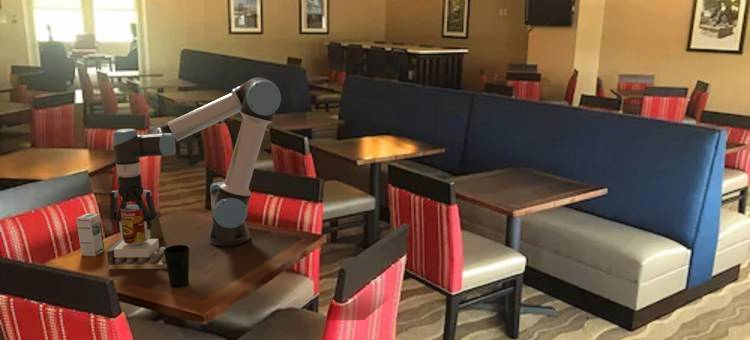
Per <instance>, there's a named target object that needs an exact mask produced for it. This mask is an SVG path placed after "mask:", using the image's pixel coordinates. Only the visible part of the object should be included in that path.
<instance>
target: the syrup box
mask: <svg viewBox="0 0 750 340" xmlns="http://www.w3.org/2000/svg"><path fill="white" fill-rule="evenodd" d="M75 220H76V226H77V232H78V234H77V235H78V238H79V247H80V252H81V256H85V257H96V256H98V255H100V254H102V253H103V252H105V243H104V236H103V235H104V234H103V227H102V221H101V215H100V213H93V212H91V213H85V214H83V215H80V216H78V217H76V218H75Z"/></svg>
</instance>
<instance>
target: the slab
mask: <svg viewBox="0 0 750 340" xmlns="http://www.w3.org/2000/svg"><path fill="white" fill-rule="evenodd" d="M159 241H160V240H159V239H148V240H147V241H145V242H142V243H138V244H127V243H124V240H123V241H122V242H121V243H120V244H119V245H118V246H116V247H115V248H114V249H113V251H114V258H117V257H150V256H151V255H152V254H153V253H154V252H157V249H158V248H159V247H160V242H159Z"/></svg>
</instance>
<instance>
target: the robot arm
mask: <svg viewBox="0 0 750 340" xmlns="http://www.w3.org/2000/svg"><path fill="white" fill-rule="evenodd" d="M281 95H282V94H281V92H280V89H279V87H278V86H277V85H276V83H274V82H273V81H272V80H269V78H265V77H263V76H258V77H253V78H251V79H249V80H248V81H245V82H244V83H242V84H241V85H238V86H236V87H235V88H232V89H231V92H230V93H228V94H226V95H224V96H222V97H220V98H217V99H216V100H213V101H211V102H209V103H207V104H205V105H203V106H200V107H198V108H196V109H194V110H192V111H189V112H188V113H186V114H183V115H181V116H179V117H177V118H174V119H172V120H170V121H167V122H166V123H163V124H162V125H156V126H154V127H152V128H151V129H150V130H149V131H148V133H147V134H139V133H137V129H135V128H121V129H117V130H115V131H114V132H113V134H112V135H113V149H114V157H115V158H114V159H115V165H116V166H115V168H116V174H117V177H116V178H117V185H118V189H117V190H112V191H110V193H109V195H110V200H111V201H110V215H109V217H110V220H111V221H112V220H113V221H116V227H117V230H119V231H120V239H121V240H124V237H123V228H122V219H121V210H120V208H121V209H123V208H125V207H126V205H128V203H129V202H131V203H132V202H133V203H135V204H137V205H138V206H139V208H140V209H141V208H142V211H143V216H144V217H145V219H146V220H145V221H144V228H145V238H146V239H149V238H150V237H151V236H150V229H151V228H152V219H154V218H155V217H156V216H157V214H156V211H155V209H156V208H155V204H154V200H153V190H152V189H149V190H145V189H144V187H143V180H142V175H141V172H142V170H141V160H140V158H143V157H144V158H145V157H160V156H164V157H165V156H172V155H175V154H176V152H177V151H176V150H177V149H176V143H177V142H179V141H180V140H183V139H185V138H187V137H189V136H192V135H193V134H194V135H195V133H198V132H200V131H203V130H204V129H206V128H209V127H211V126H213V125H215V124H217V123H219V122H221V121H225V120H226V119H228V118H230V117H232V116H235V115H236V114H238V113H240V114H241V116H242V120H241V125H240V128H239V132H238V135H237V138H236V142H235V146H234V149H233V152H232V155H231V159H230V162H229V165H228V168H227V172H226V176H225V179H224V180H223V181H217V182H213V183H211V184H210V187H209V189H210V190H209V193H210V201H211V202H210V203H211V204H210V205H211V215H212V216H211V217H212V218H211V219H212V224H211V227H210V231H209V234H208V235H209V236H208V240H209V244H211V245H213V246H217V247H233V246H238V245H242V244H245V243H247V242H248V241H249V240H250V233H249V229H248V227H247V224H246V219H247V216H248V206H249V202H250V199H251V195H252V192H251V190H250V189H249V187H250V184H251V182H252V178H253V177H252V176H253V173H254V170H255V167H256V163H257V160H258V157H259V154H260V149H261V146H262V143H263V140H264V136H265V134H266V133H265V132H266V129H267V126H268V125H269V124H271V123H273V120H274V117H275V114H276V111H278V109H279V108H280V106H281V101H282V96H281ZM143 195H144V197H145V201H146V204H147V206H146V204H145V202H144V199H143V197H142V196H143ZM119 196H120V197H121V198H122V199H121V201H120V205H119V208H118V200H119V198H118V197H119ZM149 212H150V213H149Z"/></svg>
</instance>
